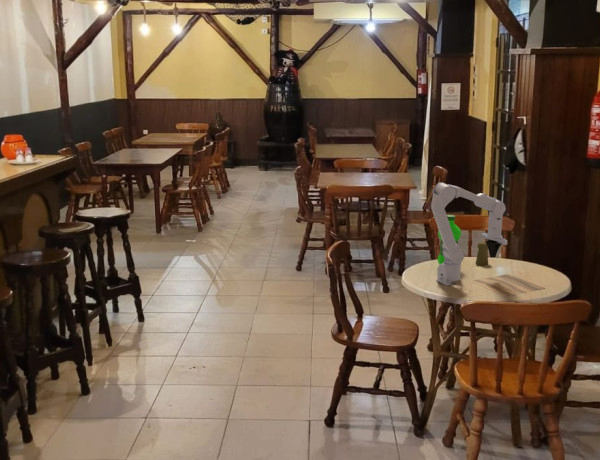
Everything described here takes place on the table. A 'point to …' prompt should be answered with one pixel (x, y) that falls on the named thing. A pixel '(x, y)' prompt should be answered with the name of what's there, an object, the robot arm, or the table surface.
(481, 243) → the olive tapered tower
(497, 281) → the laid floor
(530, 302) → the table surface
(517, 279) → the loose plank
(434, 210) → the robot arm
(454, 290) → the table surface
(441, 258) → the plastic bottle
